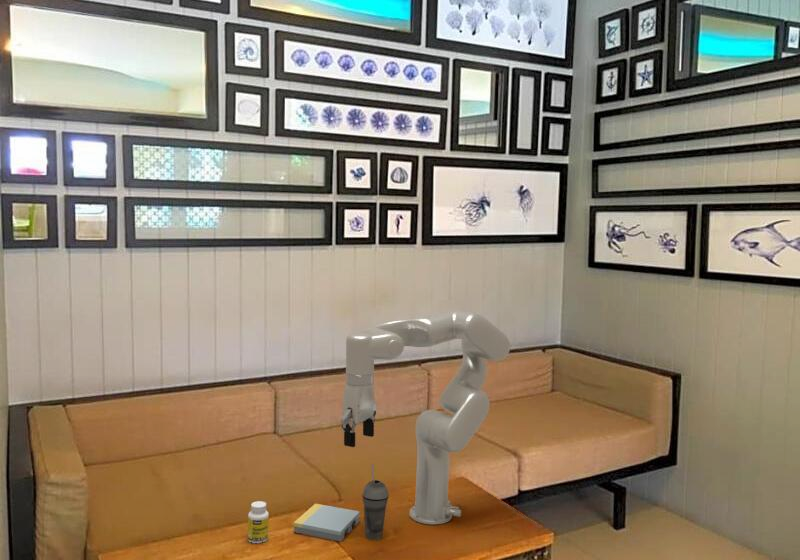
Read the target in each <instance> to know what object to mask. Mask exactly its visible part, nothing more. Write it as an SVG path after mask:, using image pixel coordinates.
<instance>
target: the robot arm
mask: <svg viewBox="0 0 800 560" xmlns="http://www.w3.org/2000/svg"><path fill="white" fill-rule="evenodd" d="M453 340H461V349H462V363H461V365H460V367H459V369H458V370H457V372H456V373H455V375H454V376H453V377H452V379H451V380H450V382H449V383H448V384H447V386H445V388H444V390H443V391H442V393H441V395H440V398H439V404H440V406H441V408H442V409H443V410H444V411H446V412H448V413H450V414H452V415H453V416H452V415H449V414H447V413H445V412H442V411H440V410H437V409H436V410H435V409H427V410H424V411H423V412H421V413H420V414H419V415H418V416H417V419H416V421H415V430H414V431H415V439H416V444H417V445H416V446H417V448H416V449H417V458H416V461H417V462H416V476H415V479H416V480H415V495H414V496H415V499H414V501H415V502H414V505H413V506H412V507H410V509H409V514H408V515H409V517H410V518H411V519H412V520H414V521H415V522H416V523H417V522H418V523H421V524H423V525H442V524H446V523H448V522H449V521H451V520H452V517H453V516H455V517H459V518H460V517H461V515H462V510H461V509H460V507H459V506H453V505H451V501H450V499H448V497H449V496H448V495H449V479H450V478H449V475H450V453H458V452H460V451H462V450H463V449H465V447H466V446H467V445H468V444H469V442H470V441H471V440H472V439H473V436H475V434H476V432H477V431H478V429H479V428H480V426H481V425H482V424H483V422H484V421H485V419H486V418H487V416H488V413H489V409H490V399H489V397H488V395H487V392H485V391H483V390H482V389H481V388H482V387H483V385H484V383H485V381H486V379H487V376H488V366H487V360H490V361H494V362H496V361H497V362H498V361H502V360H503V359H506V357H507V356H508V355H509V353H510V351H511V342H510V339H509V337H508V336H507V335H506V334H505V333H504V332H503V331H502V330H501V329H500V328H498V327H497V326H496V325H494V324H493V323H492V322H491V321H489V320H488V319H487V318H486V317H484V316H483V315H481V314H479V313H477V312H474V311H473V312H472V311H467V310H463V309H451V310H446V311H442V312H439V313H436V314H433V315H428V316H425V317H419V318H411V319H410V318H409V319H404V320H396V321H394V320H393V321H391V322H390V321H389V322H385V323H381V324H377V325H373V326H370V327H367V329H365V330H364V331H363V332H353V333H350V334H348V335H347V337H346V340H345V342H346V343H345V346H346V347H345V387H344V389H343V390H344V391H343V397H342V408H341V409H342V410H341V417H340V419H339V421H340V424H341V429H342V431H343V445H344V446H345V447H349V448H354V447H355V448H356V431H355V430H356V428H357V425H358V424H361V423H362V434H363V436H365V437H370V438H371V437H372V438H373V437H374V436H375V421H376V418H375V417H376V413H377V408H378V403H376V401H375V388H374V385H375V384H374V382H375V360H387V361H390V360H394V359H397V358H398V357H400V356H401V354H402V353H403V352H404V348H405V347H413V348H430V347H433V346H437V345H440V344H444V343H447V342H450V341H453Z"/></svg>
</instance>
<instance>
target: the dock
mask: <svg viewBox="0 0 800 560" xmlns="http://www.w3.org/2000/svg"><path fill="white" fill-rule="evenodd" d="M360 513H361V512H360V511H359V510H354V509H353V510H352V509H347V508H342V507H336V506H332V505H331V506H330V505H325V504H320V503H314V504H313V505H312V506H311V507H310V508H308V509H307V511H305V512H303V514H302V515H301V516H299V517H298V518H297V519H296V520H295V521H294V522H293V533H295V532H296V533H295V534H300V533H301V535H305V534H306V535H305V536H310V537H316V538H320V539H326V540H331V541H335V542H339V543H341V542H342V541H344V539H345V534H349V533H350V532H351V531H352V530H353V529H352V528H353V526H355V527H356V526H357V525H358V524H359V523H360Z"/></svg>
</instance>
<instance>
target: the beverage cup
mask: <svg viewBox="0 0 800 560" xmlns="http://www.w3.org/2000/svg"><path fill="white" fill-rule="evenodd" d="M374 469H375V468H374V464H371V474H372V475H371V476H372V477H371V478H372V480H370V481H368V483H366V485H365V486H364V488H363V491H362V495H361V496H362V503H363V513H364V514H363V515H364V517H363V519H364V532H365V534H364V535H365V538H366V539H367V540H371V541H378V540H381V539H382V537H383V531H384V525H385V516H386V509H387V504H388V499H389V491H388V488H387V486H386V484H385V483H384V482H383V481H381V480H378V479H375V470H374Z"/></svg>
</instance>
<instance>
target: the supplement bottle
mask: <svg viewBox="0 0 800 560" xmlns="http://www.w3.org/2000/svg"><path fill="white" fill-rule="evenodd" d="M269 515H270V514H269V512H268V511H267V503H266V502H265V501H261V500H260V501H259V500H257V501H253V502H252V503H251V505H250V511H249V512H248V515H247V516H248V517H247V537H246V538H247V541H248V542H249V543H251V542H252V543H251V544H255V543H257V544H262V542H263V543H265V542H266V541H267V540H268V537H269V520H270V519H269V518H270V517H269Z"/></svg>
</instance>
